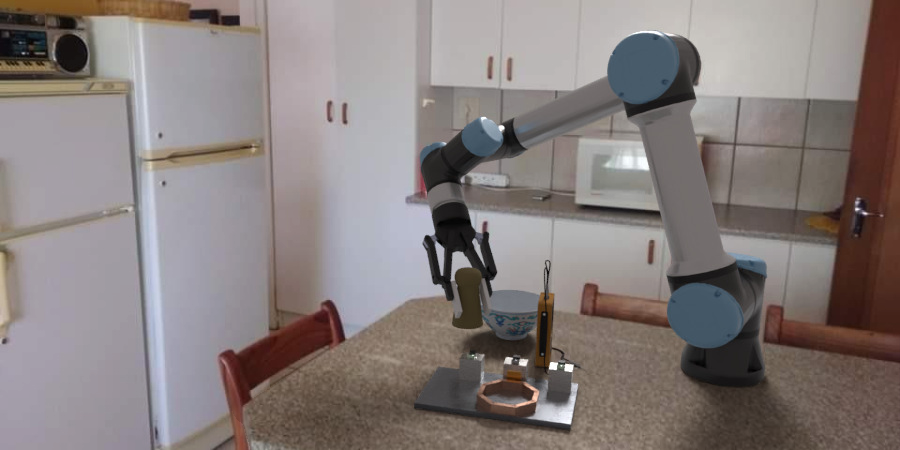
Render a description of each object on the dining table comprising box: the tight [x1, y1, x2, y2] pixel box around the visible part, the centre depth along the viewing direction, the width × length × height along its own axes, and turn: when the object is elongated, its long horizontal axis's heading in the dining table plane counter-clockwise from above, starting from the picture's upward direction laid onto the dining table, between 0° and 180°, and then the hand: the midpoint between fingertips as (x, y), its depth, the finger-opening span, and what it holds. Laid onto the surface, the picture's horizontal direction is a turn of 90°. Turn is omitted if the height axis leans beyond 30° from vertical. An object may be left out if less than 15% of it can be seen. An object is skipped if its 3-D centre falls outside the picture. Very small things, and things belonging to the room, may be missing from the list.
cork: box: [451, 266, 484, 330], centre depth 137 cm, size 6×6×11 cm
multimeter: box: [534, 259, 588, 376], centre depth 138 cm, size 15×10×20 cm
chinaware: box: [480, 289, 540, 341], centre depth 154 cm, size 15×15×8 cm
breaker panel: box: [413, 349, 579, 431], centre depth 124 cm, size 26×16×6 cm, turn 76°
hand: (473, 313), depth 134 cm, fingers closed on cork, 5 cm apart
